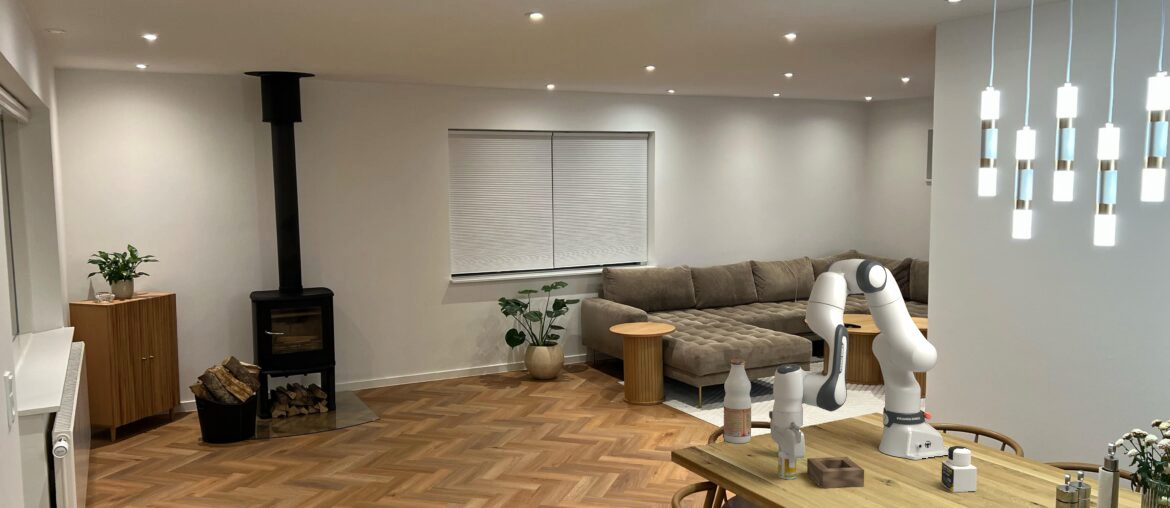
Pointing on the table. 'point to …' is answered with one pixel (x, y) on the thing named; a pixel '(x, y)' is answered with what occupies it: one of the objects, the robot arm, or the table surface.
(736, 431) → the fruit juice
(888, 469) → the table surface
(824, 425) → the table surface
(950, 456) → the medicine bottle
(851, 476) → the well block
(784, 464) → the supplement bottle
